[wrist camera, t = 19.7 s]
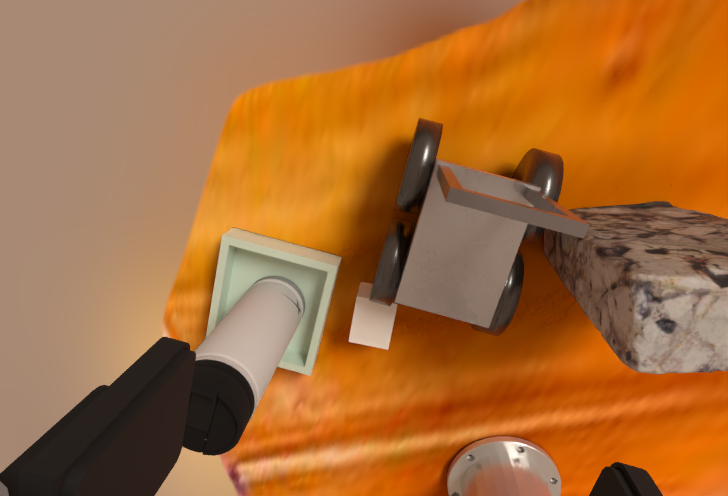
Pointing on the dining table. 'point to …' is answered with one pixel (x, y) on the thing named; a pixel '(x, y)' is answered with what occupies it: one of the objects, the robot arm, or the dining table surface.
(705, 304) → the stone block
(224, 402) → the travel mug
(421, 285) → the trolley
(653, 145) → the dining table surface
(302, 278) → the tray
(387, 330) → the white block
